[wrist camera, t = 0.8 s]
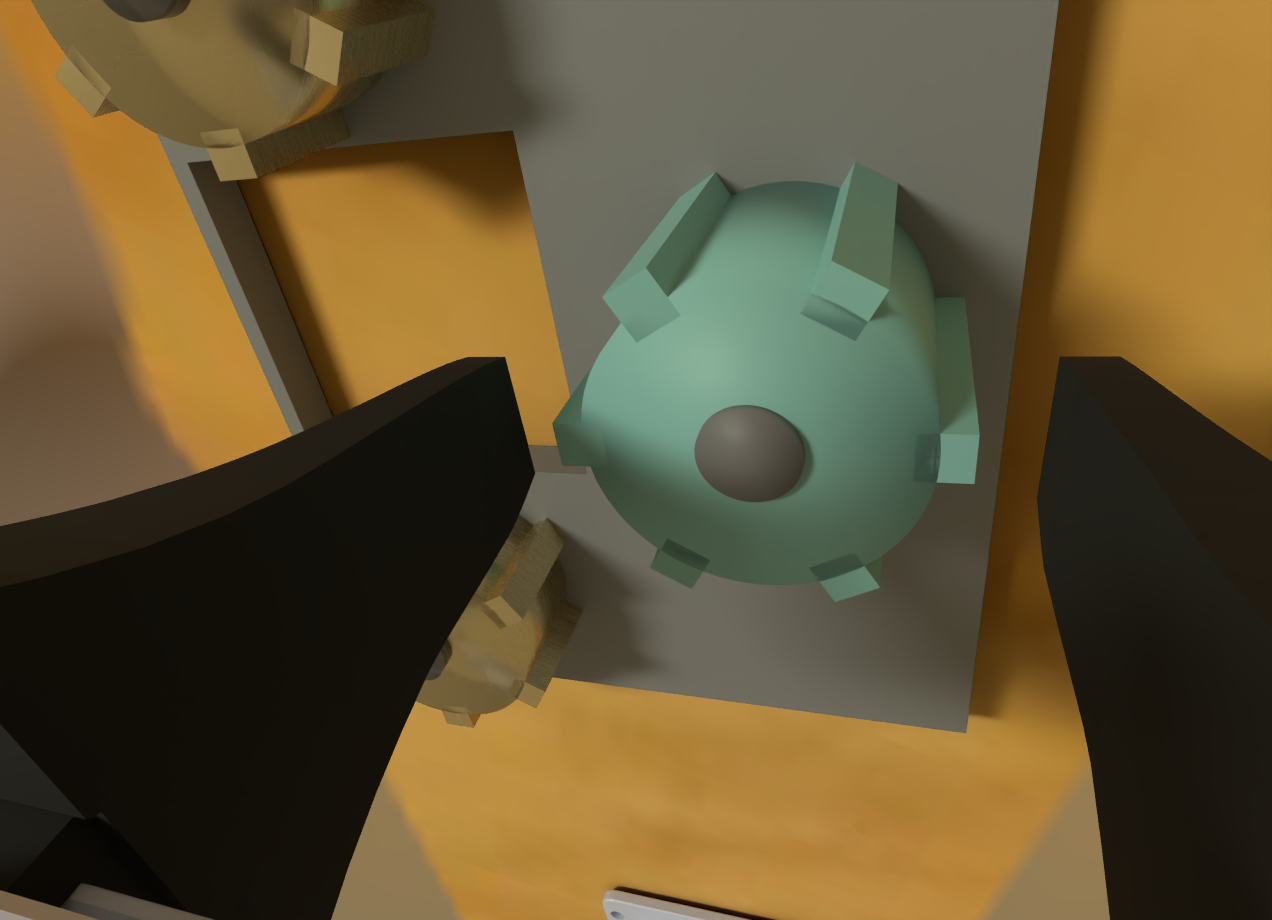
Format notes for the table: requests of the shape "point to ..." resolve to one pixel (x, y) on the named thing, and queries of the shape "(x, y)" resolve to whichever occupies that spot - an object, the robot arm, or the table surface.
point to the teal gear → (777, 386)
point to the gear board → (603, 246)
